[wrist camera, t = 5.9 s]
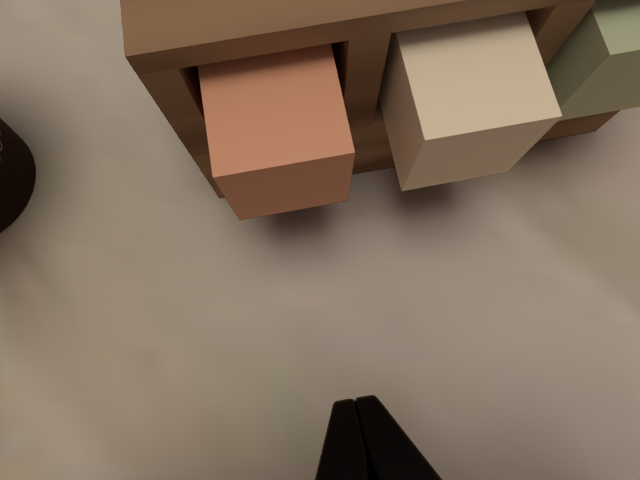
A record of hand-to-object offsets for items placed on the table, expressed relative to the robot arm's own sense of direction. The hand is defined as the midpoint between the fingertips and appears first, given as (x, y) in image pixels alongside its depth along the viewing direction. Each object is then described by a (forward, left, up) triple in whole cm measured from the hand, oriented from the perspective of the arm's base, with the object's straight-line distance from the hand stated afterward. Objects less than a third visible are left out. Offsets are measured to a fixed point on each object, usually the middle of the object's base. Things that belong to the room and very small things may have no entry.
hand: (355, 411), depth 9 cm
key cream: (+2, -11, -6) cm, 12 cm away
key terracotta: (+7, -7, -6) cm, 11 cm away
